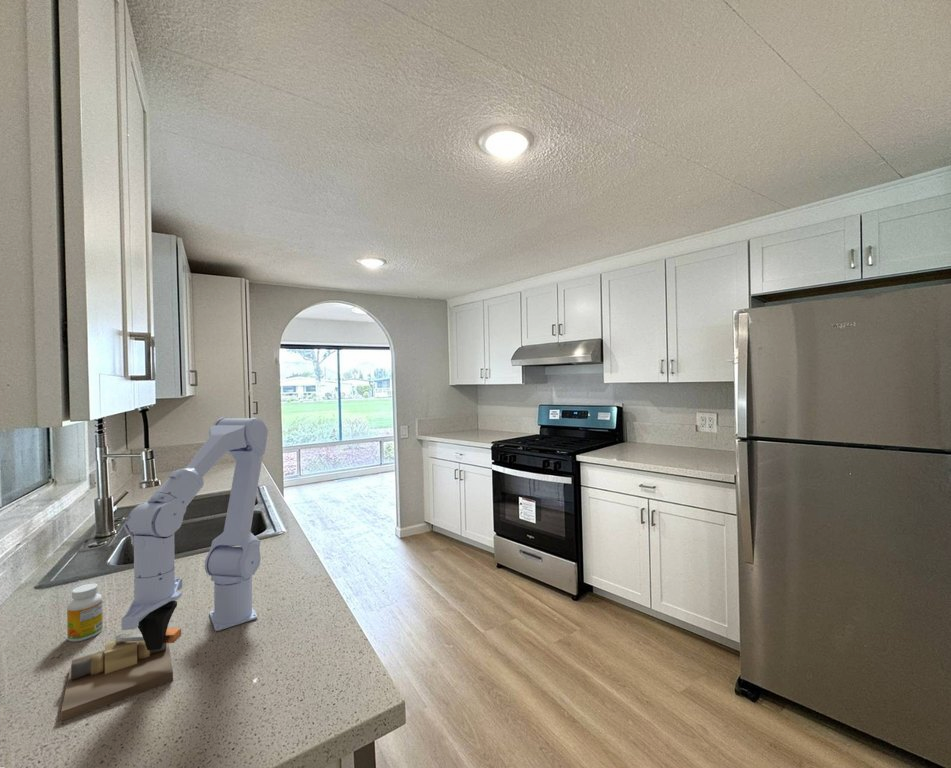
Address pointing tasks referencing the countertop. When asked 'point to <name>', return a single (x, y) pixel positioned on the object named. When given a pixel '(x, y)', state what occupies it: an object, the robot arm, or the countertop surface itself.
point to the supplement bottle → (84, 613)
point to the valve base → (114, 675)
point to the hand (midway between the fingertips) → (155, 648)
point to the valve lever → (169, 638)
